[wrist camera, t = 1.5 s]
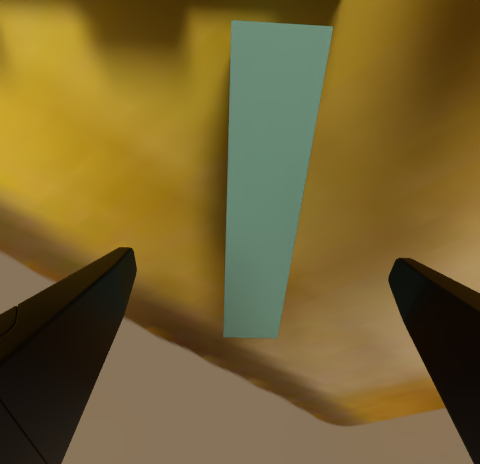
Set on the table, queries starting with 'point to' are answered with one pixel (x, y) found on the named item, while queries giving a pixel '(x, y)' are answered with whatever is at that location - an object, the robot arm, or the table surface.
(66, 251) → the table surface
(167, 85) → the table surface
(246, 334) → the teal plate
